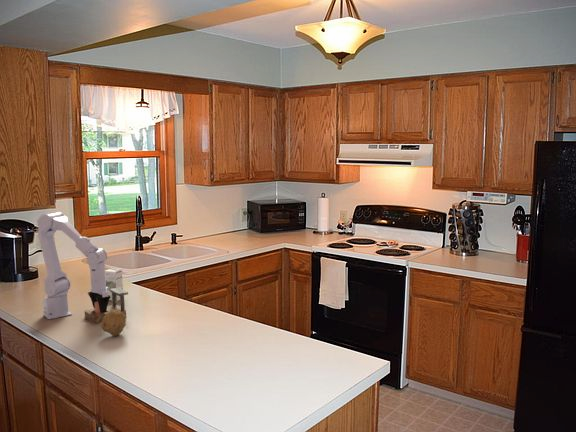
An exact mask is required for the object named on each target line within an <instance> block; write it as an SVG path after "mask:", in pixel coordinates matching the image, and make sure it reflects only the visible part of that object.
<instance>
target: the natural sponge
mask: <svg viewBox="0 0 576 432" xmlns="http://www.w3.org/2000/svg"><path fill="white" fill-rule="evenodd" d="M126 321H127V316H126V317H125V315H124V314H123V313H122V312H121V311H117V310H112V311H109V312H108V313H106V314H105V316H104V318H103V320H102V322H101V323H100V328H101V331H104V332H106V333H108V334H110V335H111V336H113V337H118V336H119V335H120V334H121V333H122V332H123V330H124V329H125V326H126Z"/></svg>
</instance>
